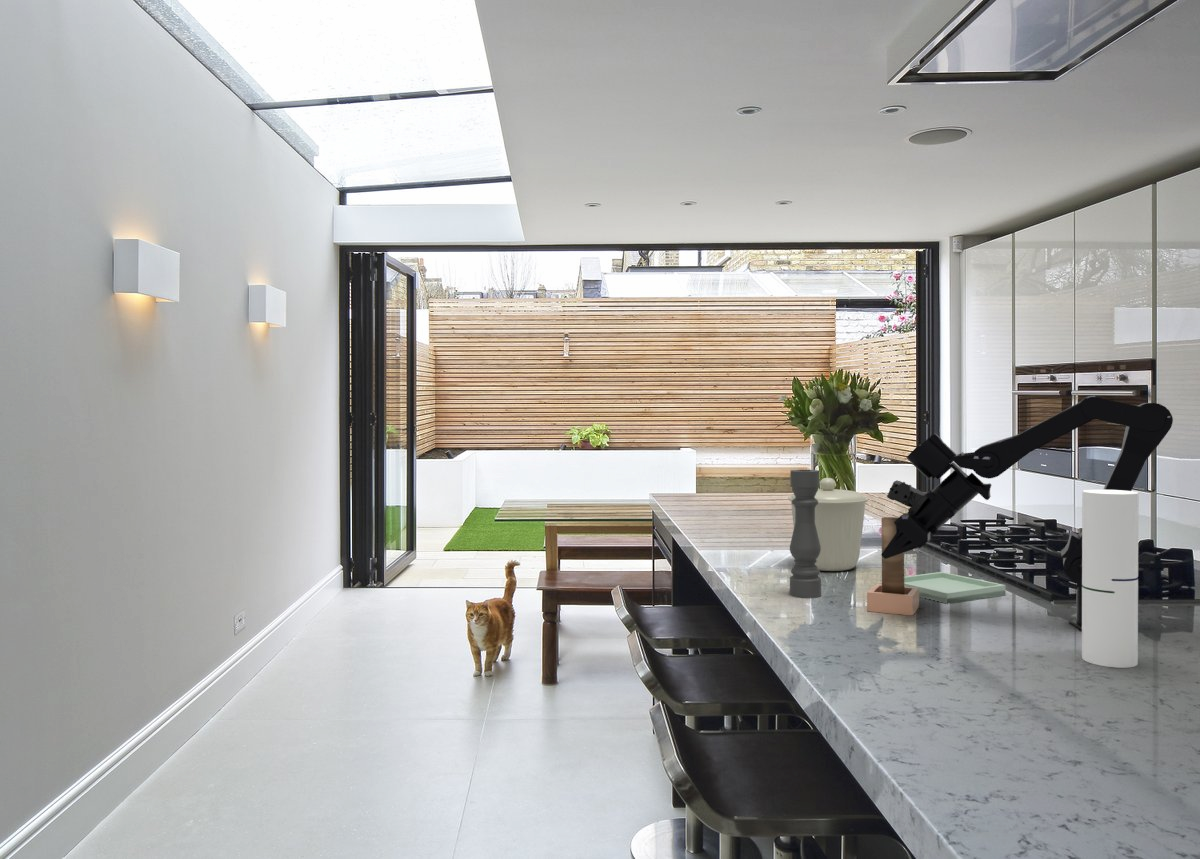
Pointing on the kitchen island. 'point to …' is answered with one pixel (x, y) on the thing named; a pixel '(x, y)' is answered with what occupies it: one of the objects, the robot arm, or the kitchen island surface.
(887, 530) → the dowel pin
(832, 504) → the canister
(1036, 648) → the kitchen island surface
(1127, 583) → the cylindrical container
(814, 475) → the candle holder
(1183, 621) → the kitchen island surface
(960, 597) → the tray
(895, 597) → the pink open box
